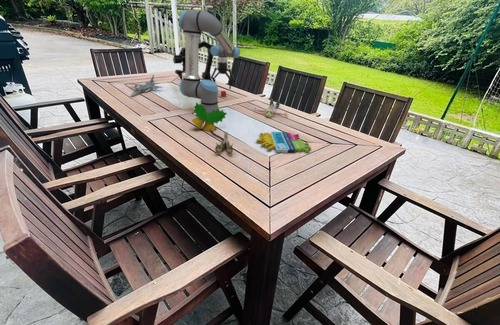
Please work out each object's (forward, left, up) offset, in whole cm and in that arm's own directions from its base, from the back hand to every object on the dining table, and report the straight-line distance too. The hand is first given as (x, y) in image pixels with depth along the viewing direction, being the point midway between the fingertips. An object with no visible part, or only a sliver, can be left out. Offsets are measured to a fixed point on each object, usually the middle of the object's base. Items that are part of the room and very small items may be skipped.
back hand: (186, 81), depth 235 cm
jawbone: (+120, -36, -9) cm, 126 cm away
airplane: (-14, -33, -9) cm, 37 cm away
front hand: (+29, +19, -1) cm, 35 cm away
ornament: (+89, -27, -9) cm, 93 cm away
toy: (+82, +31, -9) cm, 88 cm away
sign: (+128, -1, -9) cm, 128 cm away
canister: (+29, +21, -9) cm, 37 cm away
